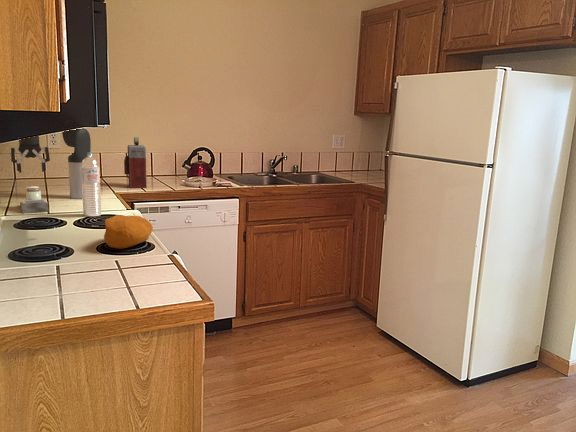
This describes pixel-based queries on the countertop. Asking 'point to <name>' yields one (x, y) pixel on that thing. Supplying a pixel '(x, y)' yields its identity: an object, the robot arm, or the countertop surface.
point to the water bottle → (91, 186)
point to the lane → (34, 207)
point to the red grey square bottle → (136, 165)
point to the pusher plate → (34, 201)
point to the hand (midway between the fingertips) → (31, 172)
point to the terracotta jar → (31, 187)
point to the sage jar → (33, 194)
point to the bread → (126, 231)
